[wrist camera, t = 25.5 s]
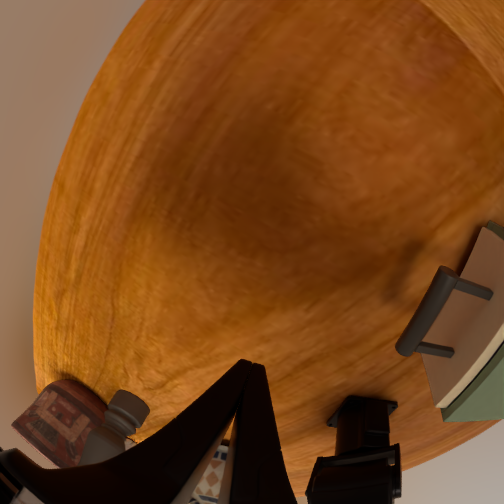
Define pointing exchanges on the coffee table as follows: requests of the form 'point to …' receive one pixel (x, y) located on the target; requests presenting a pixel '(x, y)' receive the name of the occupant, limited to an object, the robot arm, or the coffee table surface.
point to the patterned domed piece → (210, 480)
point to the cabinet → (481, 385)
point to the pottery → (61, 421)
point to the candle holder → (114, 428)
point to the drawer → (460, 321)
